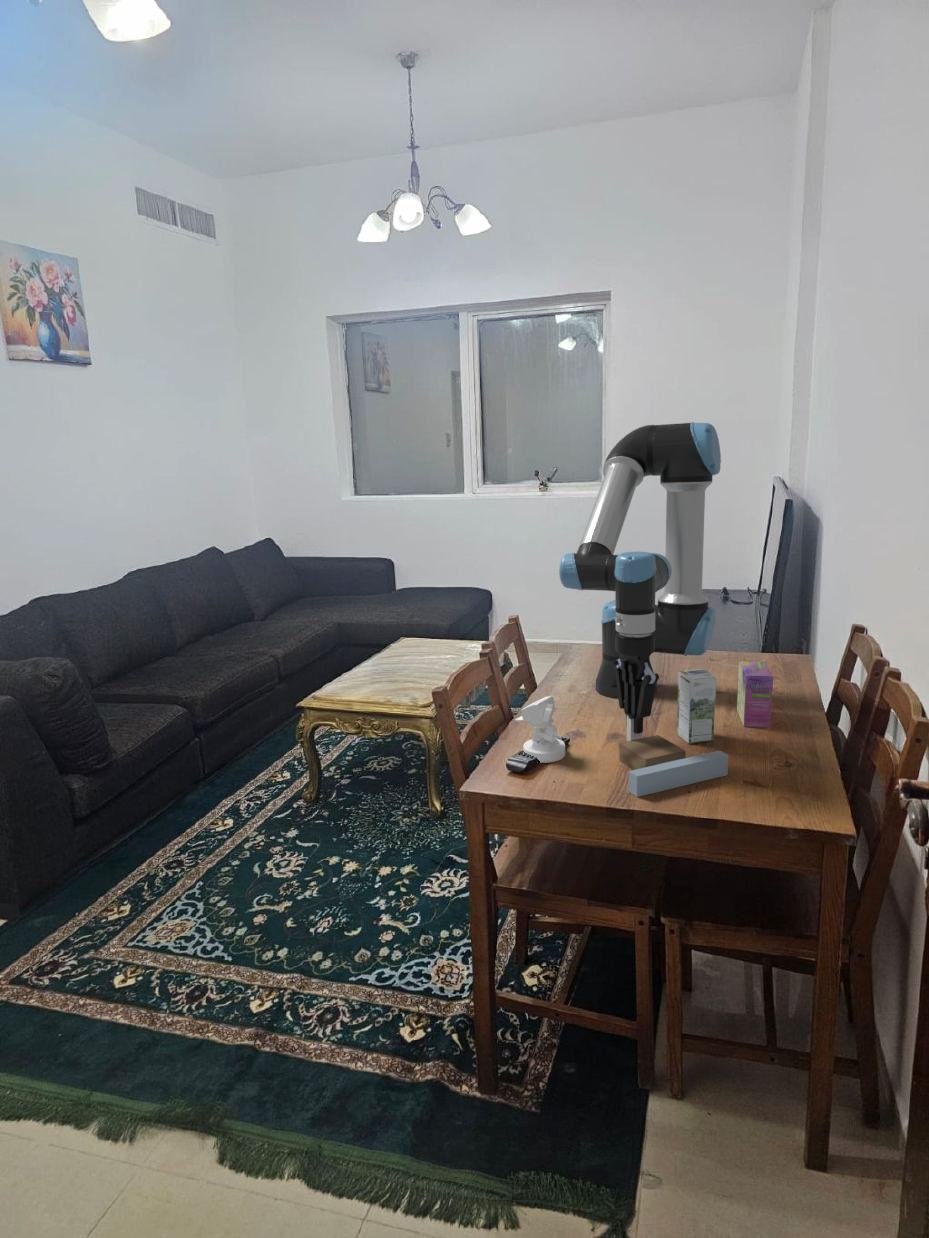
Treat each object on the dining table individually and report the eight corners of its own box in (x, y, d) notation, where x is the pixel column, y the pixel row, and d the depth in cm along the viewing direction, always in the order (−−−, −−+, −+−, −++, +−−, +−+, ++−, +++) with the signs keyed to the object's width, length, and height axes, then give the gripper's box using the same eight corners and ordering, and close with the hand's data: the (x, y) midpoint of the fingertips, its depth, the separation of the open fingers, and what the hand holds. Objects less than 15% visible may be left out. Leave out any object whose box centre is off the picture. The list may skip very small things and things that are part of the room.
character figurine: (550, 766, 152) (549, 708, 150) (511, 756, 158) (509, 700, 155) (573, 750, 159) (572, 695, 156) (534, 741, 165) (532, 688, 162)
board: (628, 791, 140) (628, 771, 139) (718, 769, 147) (719, 750, 146) (636, 797, 138) (636, 776, 137) (727, 774, 145) (728, 755, 144)
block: (619, 761, 153) (619, 742, 152) (657, 753, 156) (657, 734, 155) (645, 779, 145) (645, 759, 144) (685, 770, 148) (685, 750, 147)
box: (771, 728, 166) (773, 675, 163) (743, 727, 167) (745, 675, 164) (763, 711, 176) (765, 661, 173) (736, 710, 177) (738, 661, 174)
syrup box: (701, 731, 166) (702, 667, 162) (714, 741, 160) (716, 675, 157) (676, 734, 165) (677, 669, 161) (688, 745, 159) (690, 678, 156)
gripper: (600, 628, 154) (601, 738, 159) (637, 642, 142) (636, 761, 147) (632, 623, 156) (632, 732, 162) (671, 637, 145) (669, 754, 150)
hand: (634, 746), depth 155 cm, fingers closed
